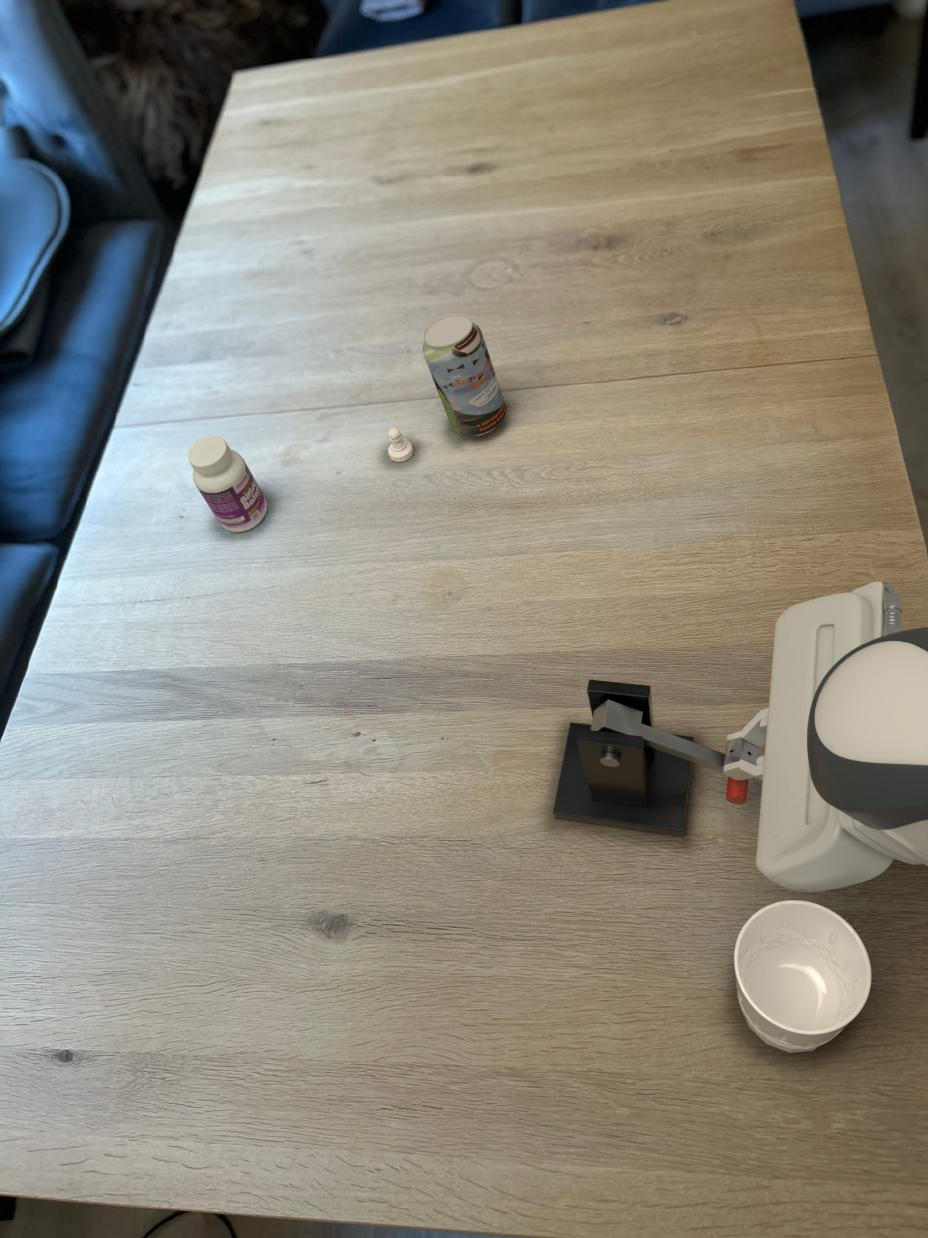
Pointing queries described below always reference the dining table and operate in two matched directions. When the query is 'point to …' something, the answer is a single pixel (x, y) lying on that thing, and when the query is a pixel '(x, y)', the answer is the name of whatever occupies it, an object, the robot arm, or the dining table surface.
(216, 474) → the pill bottle
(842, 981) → the white cup
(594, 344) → the dining table surface
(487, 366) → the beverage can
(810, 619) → the robot arm
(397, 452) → the chess pawn
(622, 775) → the switch bracket
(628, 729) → the power lever
